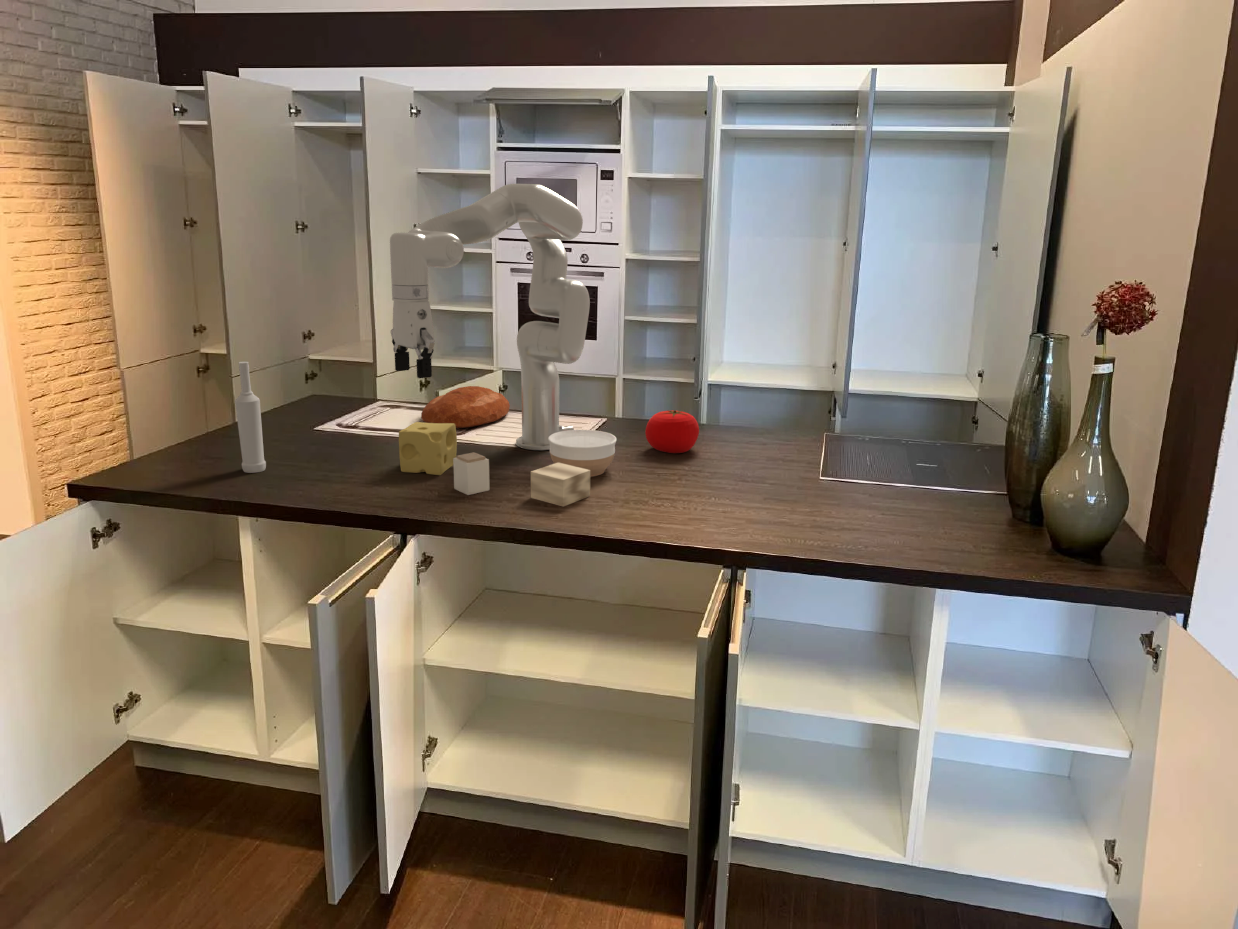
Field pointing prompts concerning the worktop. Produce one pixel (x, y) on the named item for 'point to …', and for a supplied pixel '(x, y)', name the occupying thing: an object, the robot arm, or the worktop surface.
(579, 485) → the block
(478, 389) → the bread
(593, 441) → the bowl
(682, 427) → the tomato
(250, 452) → the bottle
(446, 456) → the cheese
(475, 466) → the white cube
